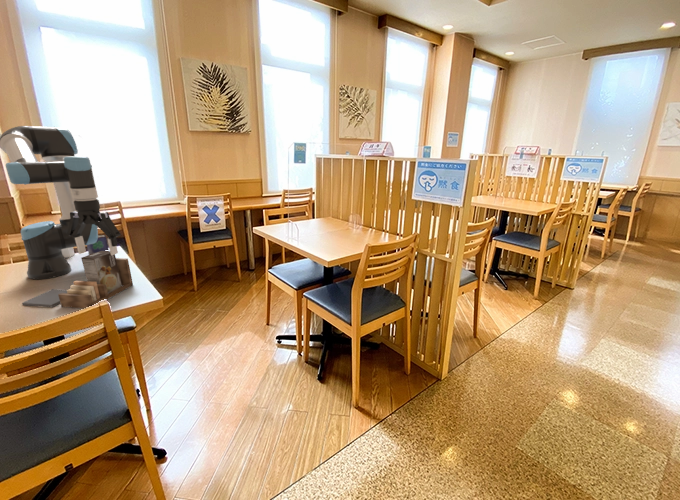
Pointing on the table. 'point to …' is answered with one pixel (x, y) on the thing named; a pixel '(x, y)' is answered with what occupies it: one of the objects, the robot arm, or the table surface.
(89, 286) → the offcut stack
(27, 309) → the table surface
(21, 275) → the table surface
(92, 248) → the flask
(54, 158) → the robot arm
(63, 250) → the jar
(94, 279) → the coffee box
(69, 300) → the walnut rack
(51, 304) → the rubber mat
